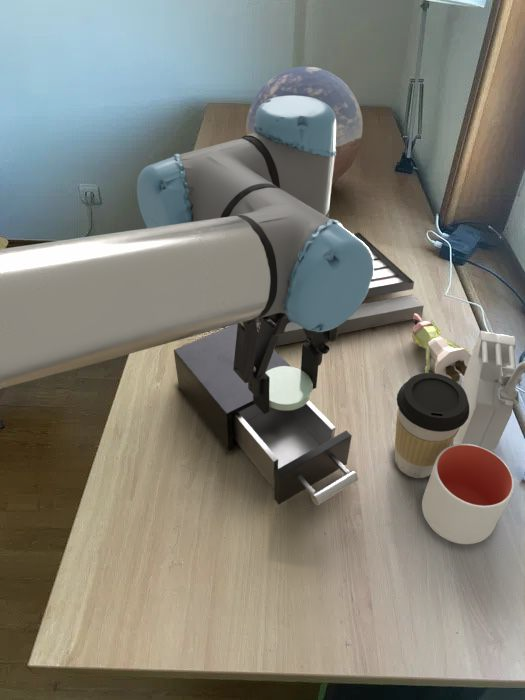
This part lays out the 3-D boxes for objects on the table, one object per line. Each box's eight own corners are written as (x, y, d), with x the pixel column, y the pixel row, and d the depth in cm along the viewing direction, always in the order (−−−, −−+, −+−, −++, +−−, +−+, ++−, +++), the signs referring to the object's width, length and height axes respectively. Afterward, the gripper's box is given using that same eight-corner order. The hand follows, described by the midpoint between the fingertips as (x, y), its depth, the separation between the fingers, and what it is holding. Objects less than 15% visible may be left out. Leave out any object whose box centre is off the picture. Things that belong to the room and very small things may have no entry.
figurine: (485, 374, 98) (438, 326, 109) (481, 347, 93) (432, 299, 104) (441, 398, 98) (399, 346, 109) (435, 372, 93) (391, 321, 104)
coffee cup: (445, 440, 90) (469, 374, 80) (449, 493, 83) (476, 427, 72) (383, 432, 91) (398, 365, 81) (382, 482, 84) (399, 416, 74)
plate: (278, 424, 73) (279, 412, 72) (248, 390, 78) (248, 379, 76) (322, 400, 76) (323, 389, 75) (291, 369, 80) (291, 358, 79)
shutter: (231, 280, 131) (271, 353, 106) (228, 252, 127) (268, 322, 102) (358, 253, 137) (424, 316, 112) (359, 226, 133) (427, 286, 108)
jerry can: (487, 486, 83) (545, 365, 66) (452, 479, 84) (501, 358, 67) (484, 411, 94) (533, 291, 77) (453, 405, 95) (495, 285, 78)
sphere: (312, 154, 170) (320, 45, 150) (378, 194, 152) (396, 75, 131) (226, 177, 158) (222, 62, 138) (286, 224, 140) (290, 98, 120)
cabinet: (299, 414, 94) (302, 376, 88) (228, 451, 88) (226, 414, 82) (244, 356, 104) (244, 320, 98) (178, 386, 98) (173, 349, 92)
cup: (415, 483, 84) (429, 441, 77) (483, 487, 83) (503, 445, 77) (425, 546, 76) (442, 505, 70) (500, 550, 76) (524, 510, 69)
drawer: (369, 488, 82) (375, 459, 77) (299, 531, 77) (302, 503, 72) (286, 401, 95) (287, 371, 90) (222, 433, 89) (220, 404, 85)
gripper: (340, 211, 68) (325, 351, 83) (193, 263, 59) (207, 408, 75) (383, 238, 63) (359, 381, 78) (230, 299, 55) (237, 445, 70)
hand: (285, 394), depth 77 cm, fingers closed on plate, 7 cm apart
